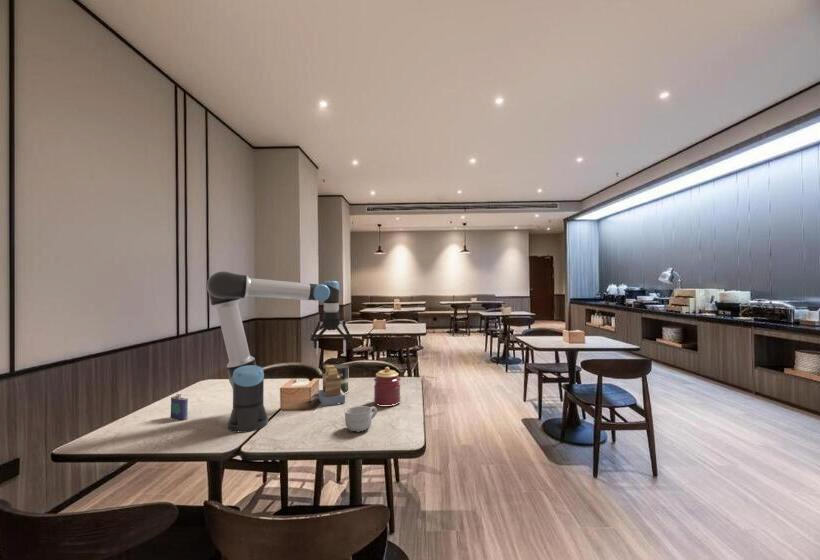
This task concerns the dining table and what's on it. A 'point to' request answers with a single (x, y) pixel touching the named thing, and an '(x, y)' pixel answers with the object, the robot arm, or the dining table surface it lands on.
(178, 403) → the flask
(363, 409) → the teacup
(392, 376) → the canister
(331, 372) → the crate
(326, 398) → the dock
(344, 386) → the coffee can
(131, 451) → the dining table surface
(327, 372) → the crate
